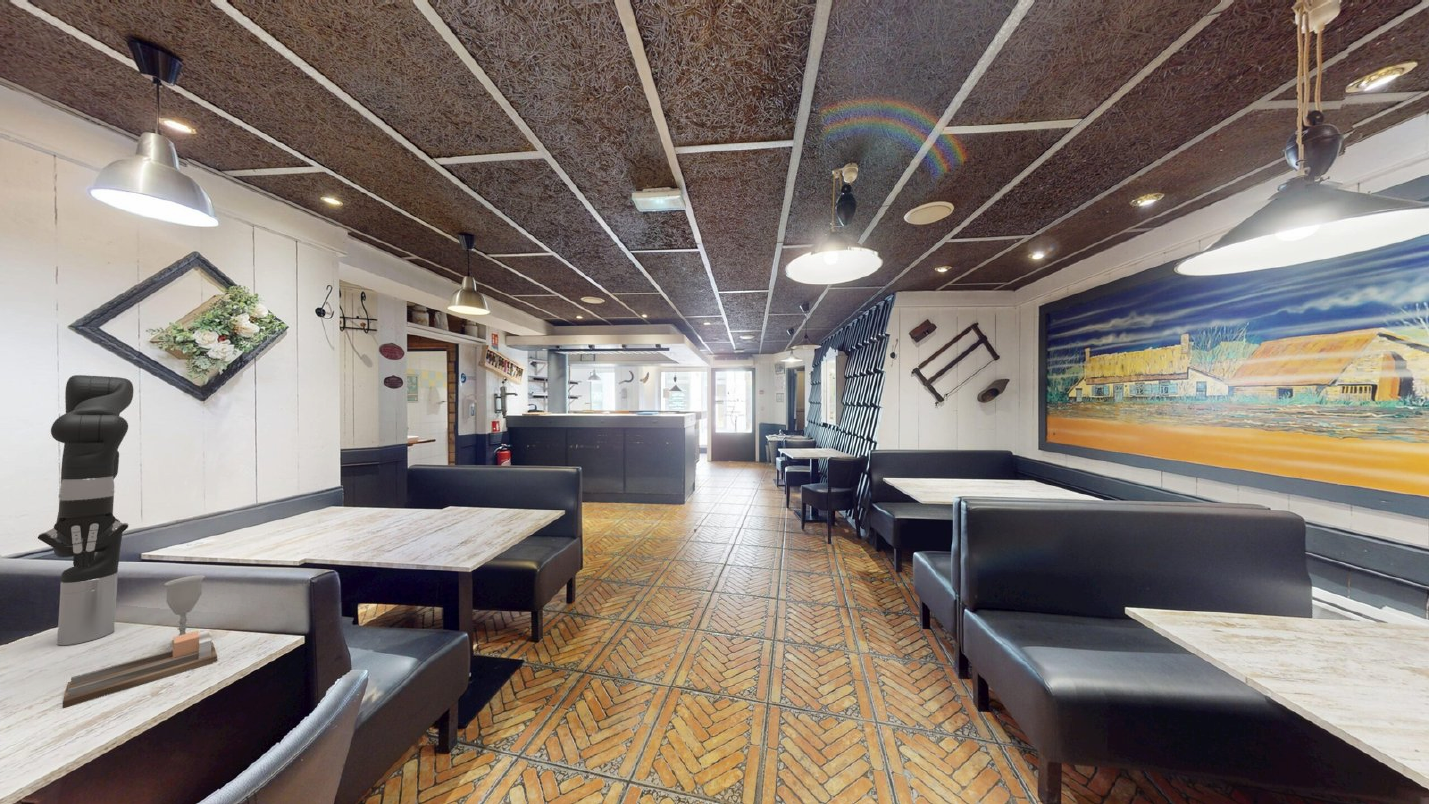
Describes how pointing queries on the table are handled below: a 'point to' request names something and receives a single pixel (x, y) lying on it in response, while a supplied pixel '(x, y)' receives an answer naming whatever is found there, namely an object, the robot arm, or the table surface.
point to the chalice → (183, 598)
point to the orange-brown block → (185, 644)
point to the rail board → (136, 672)
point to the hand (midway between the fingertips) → (83, 567)
